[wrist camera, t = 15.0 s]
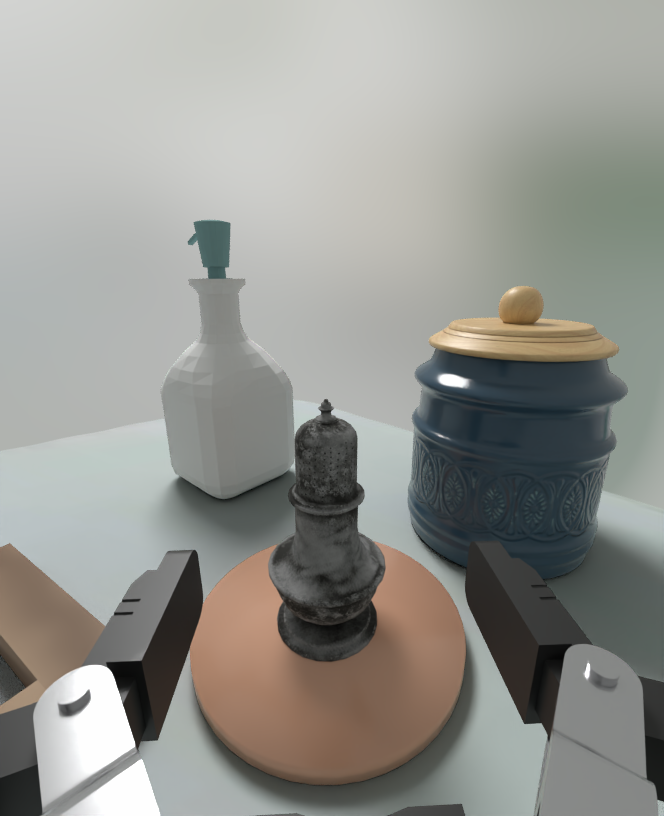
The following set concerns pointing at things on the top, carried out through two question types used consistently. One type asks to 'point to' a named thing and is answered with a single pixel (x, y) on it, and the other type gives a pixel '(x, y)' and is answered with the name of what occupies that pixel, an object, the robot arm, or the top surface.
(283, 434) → the soap bottle
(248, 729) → the saucer
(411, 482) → the canister
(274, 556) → the salt shaker
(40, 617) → the wooden square frame
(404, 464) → the top surface
